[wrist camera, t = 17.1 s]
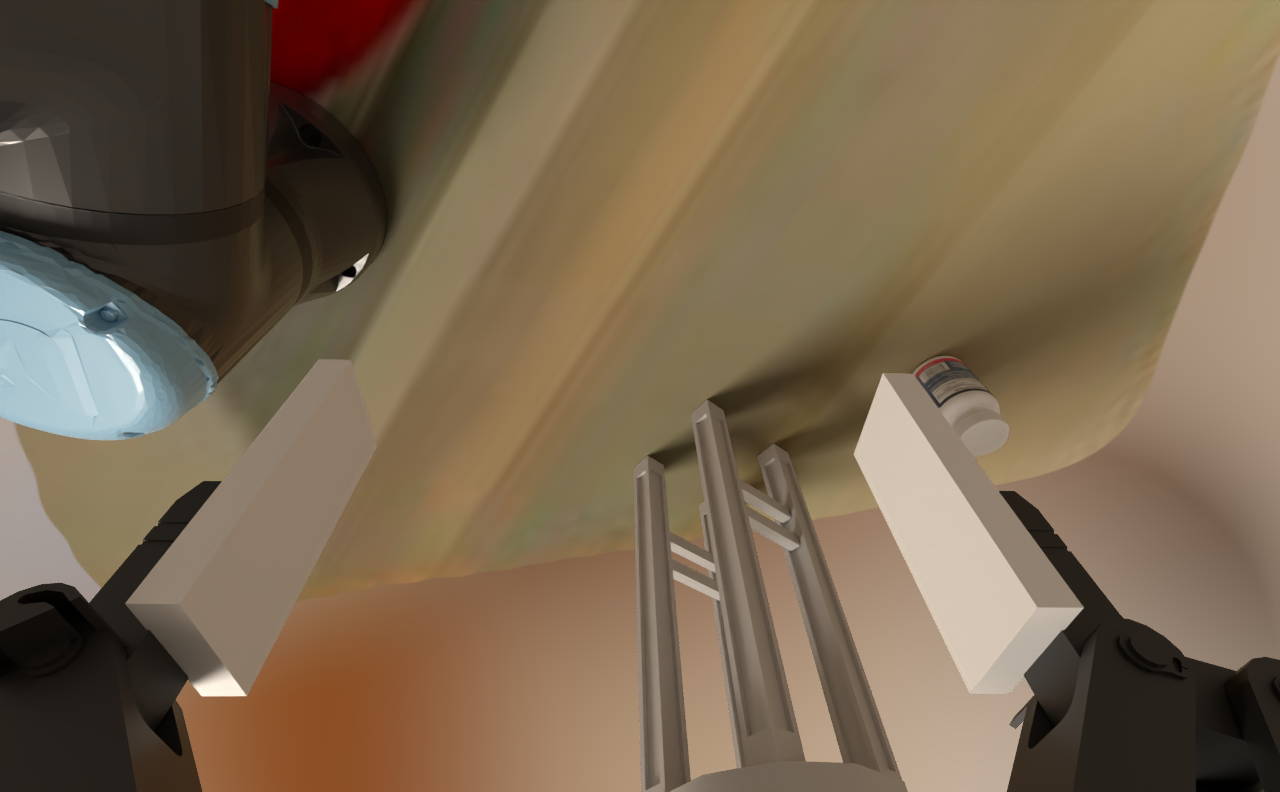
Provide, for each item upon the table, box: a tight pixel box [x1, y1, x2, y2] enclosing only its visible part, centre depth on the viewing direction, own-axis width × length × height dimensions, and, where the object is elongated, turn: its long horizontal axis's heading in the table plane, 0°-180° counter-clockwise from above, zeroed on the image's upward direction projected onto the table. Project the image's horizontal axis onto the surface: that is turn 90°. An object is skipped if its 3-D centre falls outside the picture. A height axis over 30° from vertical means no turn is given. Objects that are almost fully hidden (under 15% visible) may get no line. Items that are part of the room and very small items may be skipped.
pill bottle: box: [913, 356, 1010, 456], centre depth 50 cm, size 5×5×9 cm
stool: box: [634, 400, 908, 792], centre depth 45 cm, size 16×16×35 cm
